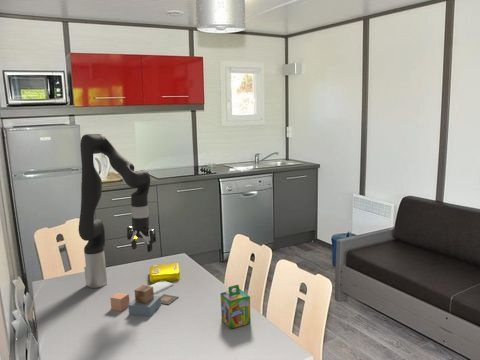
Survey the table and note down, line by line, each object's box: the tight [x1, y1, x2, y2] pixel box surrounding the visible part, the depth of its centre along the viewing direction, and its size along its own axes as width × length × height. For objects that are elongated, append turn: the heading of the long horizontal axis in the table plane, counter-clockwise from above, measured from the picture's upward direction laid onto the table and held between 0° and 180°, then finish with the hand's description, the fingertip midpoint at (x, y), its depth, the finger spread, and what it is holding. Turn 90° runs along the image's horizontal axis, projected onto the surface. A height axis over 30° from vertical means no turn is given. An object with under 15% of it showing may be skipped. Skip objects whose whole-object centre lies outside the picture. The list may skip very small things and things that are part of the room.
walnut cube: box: [134, 284, 155, 304], centre depth 178 cm, size 6×6×6 cm
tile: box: [160, 293, 179, 306], centre depth 188 cm, size 8×8×1 cm
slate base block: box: [127, 295, 162, 317], centre depth 179 cm, size 10×10×4 cm
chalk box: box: [219, 284, 252, 330], centre depth 165 cm, size 9×9×15 cm
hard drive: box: [149, 280, 174, 296], centre depth 201 cm, size 2×8×12 cm
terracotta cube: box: [110, 292, 131, 312], centre depth 182 cm, size 6×6×6 cm
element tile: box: [149, 262, 181, 284], centre depth 216 cm, size 15×15×5 cm
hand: (142, 250), depth 187 cm, fingers open, 8 cm apart
